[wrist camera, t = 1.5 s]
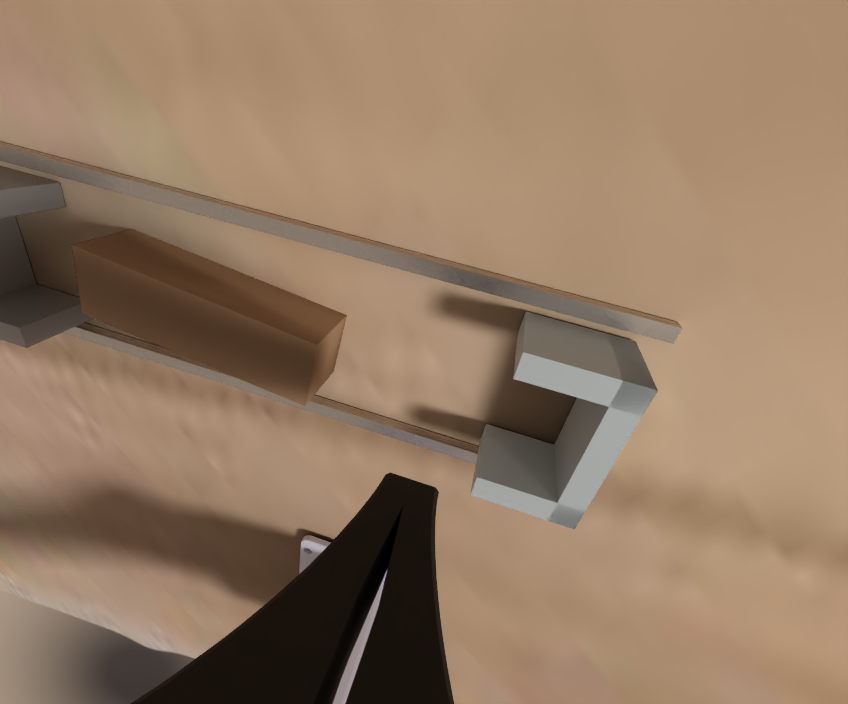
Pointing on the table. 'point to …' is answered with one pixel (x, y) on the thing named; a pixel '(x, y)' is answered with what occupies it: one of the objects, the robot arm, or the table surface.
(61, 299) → the grey c-shaped bracket
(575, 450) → the cap
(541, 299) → the track
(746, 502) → the table surface
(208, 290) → the brown bar
